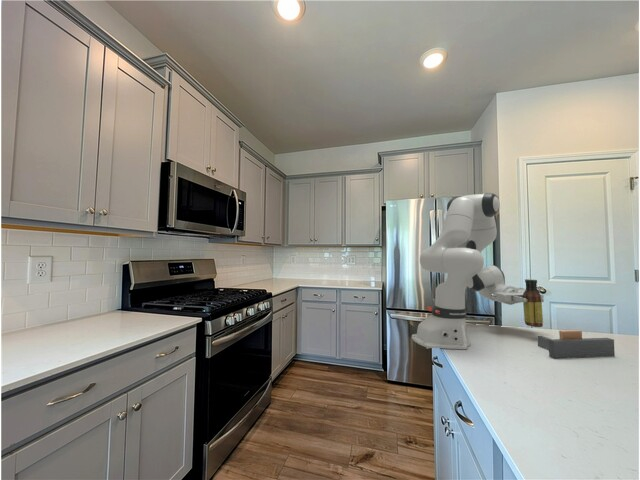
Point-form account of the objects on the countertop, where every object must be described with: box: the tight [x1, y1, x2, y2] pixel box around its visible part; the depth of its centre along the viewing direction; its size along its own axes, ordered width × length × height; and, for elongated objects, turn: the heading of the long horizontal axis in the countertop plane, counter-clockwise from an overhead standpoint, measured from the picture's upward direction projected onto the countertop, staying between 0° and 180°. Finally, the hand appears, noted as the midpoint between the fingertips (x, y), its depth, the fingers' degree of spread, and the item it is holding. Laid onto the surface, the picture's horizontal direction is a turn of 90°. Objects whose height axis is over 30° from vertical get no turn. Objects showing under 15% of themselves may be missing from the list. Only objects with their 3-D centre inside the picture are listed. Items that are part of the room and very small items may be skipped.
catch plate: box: [558, 329, 583, 339], centre depth 97 cm, size 8×1×7 cm, turn 96°
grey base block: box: [537, 335, 616, 360], centre depth 98 cm, size 24×12×6 cm, turn 96°
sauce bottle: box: [522, 278, 544, 328], centre depth 112 cm, size 6×6×20 cm
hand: (534, 300), depth 111 cm, fingers closed on sauce bottle, 6 cm apart
